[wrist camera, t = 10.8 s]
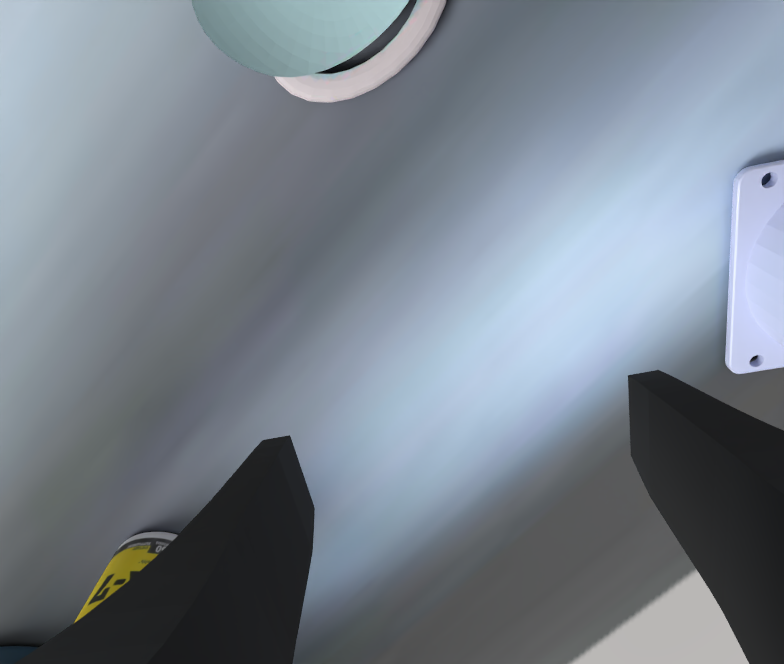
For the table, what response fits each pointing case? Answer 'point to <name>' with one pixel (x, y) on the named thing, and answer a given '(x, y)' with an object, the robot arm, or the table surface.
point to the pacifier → (317, 40)
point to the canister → (14, 653)
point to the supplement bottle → (127, 565)
